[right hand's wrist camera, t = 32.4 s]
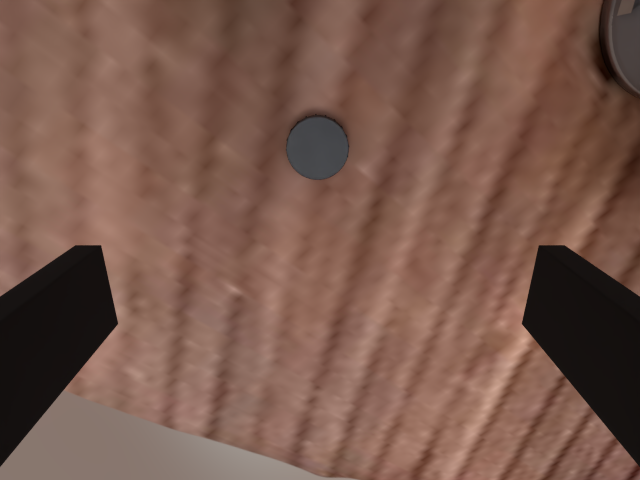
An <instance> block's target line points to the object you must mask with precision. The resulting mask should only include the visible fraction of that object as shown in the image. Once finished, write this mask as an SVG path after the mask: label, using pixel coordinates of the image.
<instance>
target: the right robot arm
mask: <svg viewBox="0 0 640 480" xmlns="http://www.w3.org/2000/svg"><path fill="white" fill-rule="evenodd" d="M600 41H601V49H602V54H603V57H604V60H605V63H606V65H607V68H608V70H609V71H610V73H611V75H612V76H613V78H614V79H615V80H616V82H617V83H618V84H619V85H620V86H621V87H622V88H623V89H625V90H626V91H627V92H629V93H630V94H632V95H634V96H636V97H638V98H640V0H605V1H604V5H603V9H602V14H601V23H600ZM117 325H118V321H117V317H116V312H115V307H114V303H113V298H112V294H111V289H110V284H109V280H108V275H107V271H106V266H105V261H104V257H103V252H102V248H101V245H75V246H74V247H72V248H71V249H70V250H68V251H67V252H65V253H64V254H62V255H61V256H59V257H58V258H56V259H55V260H53V261H52V262H50V263H49V264H47V265H46V266H45V267H43V268H42V269H40V270H39V271H37V272H36V273H34V274H33V275H31V276H30V277H28V278H27V279H25V280H24V281H23V282H21V283H20V284H18V285H17V286H15V287H14V288H12V289H11V290H9V291H8V292H6V293H5V294H3V295H2V296H1V297H0V466H1V465H2V464H3V463H4V462H5V460H6V459H7V458H8V457H9V455H10V454H11V453H12V452H13V451H14V449H15V448H16V447H17V446H18V445H19V443H20V442H21V441H22V440H23V438H24V437H25V436H26V435H27V434H28V432H29V431H30V430H31V429H32V428H33V426H34V425H35V424H36V423H37V422H38V420H39V419H40V418H41V417H42V415H43V414H44V413H45V412H46V411H47V409H48V408H49V407H50V406H51V405H52V403H53V402H54V401H55V400H56V398H57V397H58V396H59V395H60V394H61V392H62V391H63V390H64V389H65V388H66V386H67V385H68V384H69V383H70V382H71V380H72V379H73V378H74V377H75V375H76V374H77V373H78V372H79V371H80V369H81V368H82V367H83V366H84V365H85V363H86V362H87V361H88V360H89V358H90V357H91V356H92V355H93V354H94V352H95V351H96V350H97V349H98V348H99V346H100V345H101V344H102V343H103V341H104V340H105V339H106V338H107V337H108V335H109V334H110V333H111V332H112V331H113V329H114V328H115V327H116V326H117ZM522 325H523V326H524V327H525V328H526V329H527V331H528V332H529V333H530V334H531V335H532V337H533V338H534V339H535V340H536V341H537V343H538V344H539V345H540V346H541V348H542V349H543V350H544V351H545V352H546V354H547V355H548V356H549V357H550V358H551V360H552V361H553V362H554V363H555V365H556V366H557V367H558V368H559V369H560V371H561V372H562V373H563V374H564V375H565V377H566V378H567V379H568V380H569V382H570V383H571V384H572V385H573V386H574V388H575V389H576V390H577V391H578V392H579V394H580V395H581V396H582V397H583V398H584V400H585V401H586V402H587V403H588V405H589V406H590V407H591V408H592V409H593V411H594V412H595V413H596V414H597V415H598V417H599V418H600V419H601V420H602V422H603V423H604V424H605V425H606V426H607V428H608V429H609V430H610V431H611V432H612V434H613V435H614V436H615V437H616V439H617V440H618V441H619V442H620V443H621V445H622V446H623V447H624V448H625V449H626V451H627V452H628V453H629V454H630V456H631V457H632V458H633V459H634V460H635V462H636V463H637V464H638V465H639V466H640V297H639V296H638V295H637V294H635V293H634V292H632V291H631V290H629V289H628V288H626V287H625V286H623V285H622V284H620V283H619V282H617V281H616V280H615V279H613V278H612V277H610V276H609V275H607V274H606V273H604V272H603V271H601V270H600V269H598V268H597V267H595V266H594V265H593V264H591V263H590V262H588V261H587V260H585V259H584V258H582V257H581V256H579V255H578V254H576V253H575V252H573V251H572V250H570V249H569V248H568V247H566V246H565V245H539V248H538V252H537V257H536V261H535V266H534V271H533V275H532V280H531V284H530V289H529V294H528V298H527V303H526V307H525V312H524V317H523V321H522Z"/></svg>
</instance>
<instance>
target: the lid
mask: <svg viewBox="0 0 640 480" xmlns="http://www.w3.org/2000/svg"><path fill="white" fill-rule="evenodd" d="M348 150H349V145H348V140H347V135H345V133H344V131H343V128H342V126H340V125H339V124H338V123H337V122H336V121H335V119H334V120H333V119H331V118H329V117H326V115H325V116H322V115H316V114H315V115H313V116H309V117H307V116H306V117H305V118H304V119H302V120H301V121H298V122H297V124H296V125H295V126H294V128H293V129H291V133H290V135H289V137H288V139H287V149H286V151H287V156H288V160H289V162H290V164H291V165H292V167H293V168H294V169H295V170H296V171H297V172H298V173H299V174H301V175H302V176H304V177H306V178H309V179H314V180H320V179H326V178H329V177H331V176H333V175H335V174H336V173H337V172H338V171H339V170H340V169H341V168H342V167H343V166H344V164H345V162H346V160H347V157H348Z"/></svg>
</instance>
